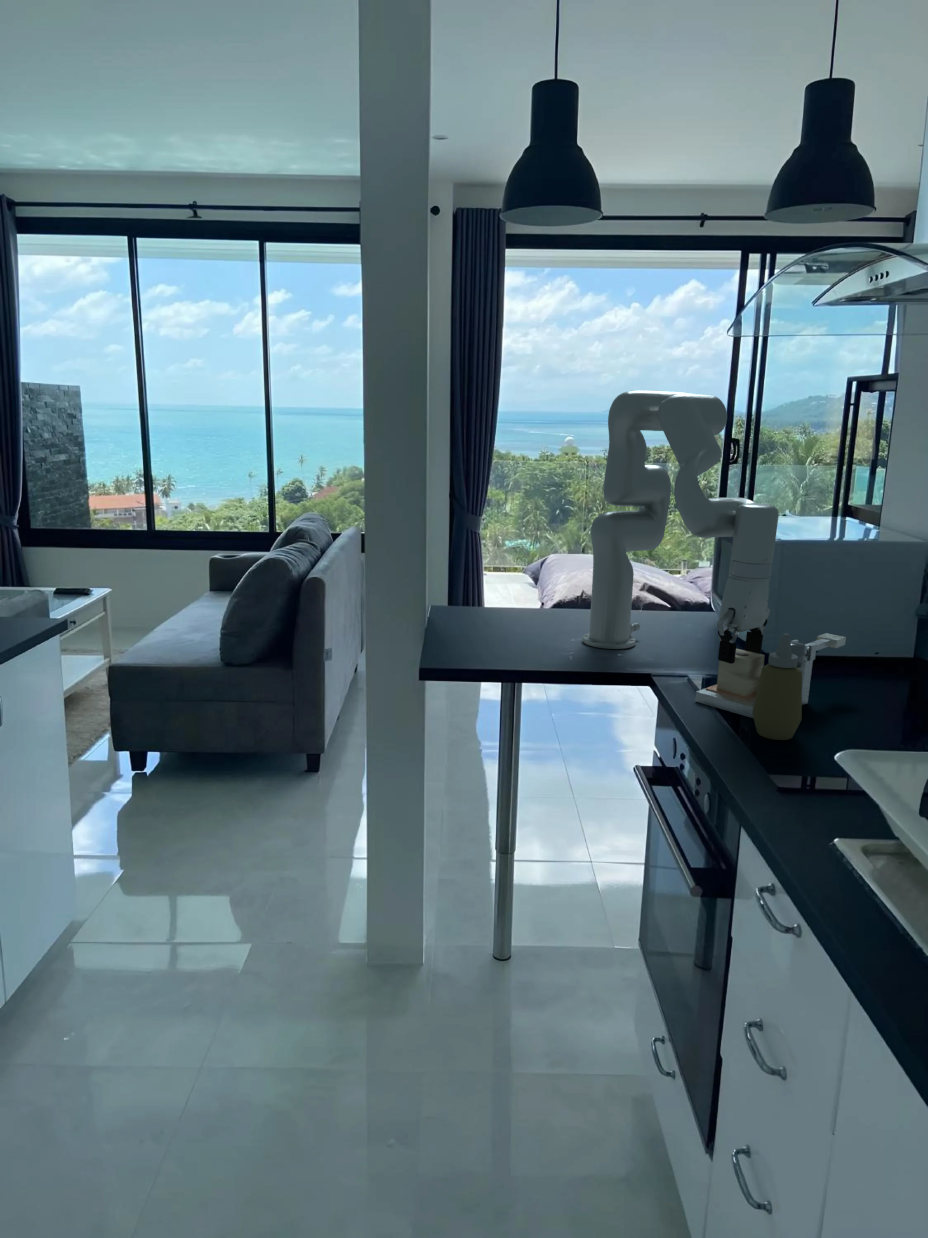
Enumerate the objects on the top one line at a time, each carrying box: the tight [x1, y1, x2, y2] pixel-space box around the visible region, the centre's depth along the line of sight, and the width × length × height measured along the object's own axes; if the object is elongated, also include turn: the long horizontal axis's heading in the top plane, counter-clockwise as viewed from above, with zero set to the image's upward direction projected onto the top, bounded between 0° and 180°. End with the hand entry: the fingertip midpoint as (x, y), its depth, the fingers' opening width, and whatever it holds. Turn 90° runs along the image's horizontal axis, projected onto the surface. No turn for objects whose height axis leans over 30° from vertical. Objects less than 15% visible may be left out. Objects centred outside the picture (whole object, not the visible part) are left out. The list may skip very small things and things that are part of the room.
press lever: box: [790, 632, 847, 668], centre depth 168 cm, size 21×4×4 cm, turn 133°
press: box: [694, 639, 817, 719], centre depth 166 cm, size 16×15×12 cm
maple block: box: [716, 648, 766, 696], centre depth 167 cm, size 6×6×7 cm
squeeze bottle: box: [753, 633, 803, 741], centre depth 148 cm, size 8×8×18 cm
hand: (739, 657), depth 167 cm, fingers open, 9 cm apart
